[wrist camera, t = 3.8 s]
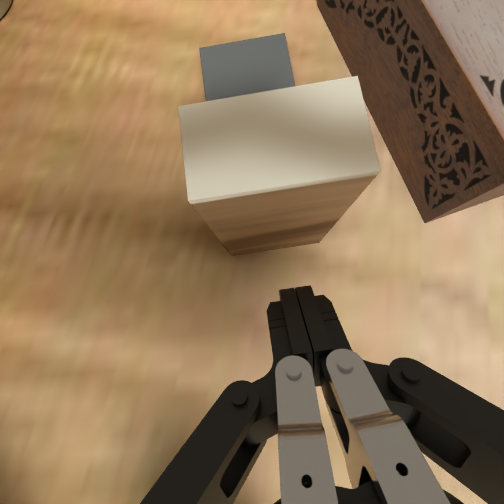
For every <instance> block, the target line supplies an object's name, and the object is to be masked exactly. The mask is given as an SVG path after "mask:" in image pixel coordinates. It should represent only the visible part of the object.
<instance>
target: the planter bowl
mask: <svg viewBox="0 0 504 504" xmlns="http://www.w3.org/2000/svg"><path fill="white" fill-rule="evenodd" d="M11 2H12V0H0V19H1V18H2V17H3V15H4V14H5V13H6V12H7V10H8V8H9V6H10V4H11Z"/></svg>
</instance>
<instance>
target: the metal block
mask: <svg viewBox="0 0 504 504" xmlns="http://www.w3.org/2000/svg"><path fill="white" fill-rule="evenodd" d="M178 109H179V119H180V128H181V138H182V148H183V157H184V167H185V176H186V186H187V195H188V201H189V203H190V204H191V205H192V206H193V208H194V209H195V210H196V211H197V213H198V214H199V215H200V216H201V218H202V219H203V220H204V221H205V223H206V224H207V225H208V226H209V228H210V229H211V230H212V231H213V233H214V234H215V235H216V237H217V238H218V239H219V240H220V242H221V243H222V244H223V245H224V247H225V248H226V249H227V250H228V252H229V253H230V254H231V255H232V256H234V255H241V254H247V253H254V252H260V251H267V250H274V249H280V248H287V247H294V246H300V245H307V244H313V243H319V242H320V241H321V240H322V238H323V237H324V236H325V235H326V234H327V233H328V232H329V230H330V229H331V228H332V227H333V226H334V225H335V223H336V222H337V221H338V220H339V219H340V218H341V216H342V215H343V214H344V213H345V212H346V211H347V209H348V208H349V207H350V206H351V205H352V204H353V202H354V201H355V200H356V199H357V198H358V197H359V195H360V194H361V193H362V192H363V191H364V190H365V188H366V187H367V186H368V185H369V184H370V183H371V182H372V180H373V179H374V178H375V177H376V176H377V175H378V173H379V172H380V171H381V168H380V164H379V160H378V156H377V152H376V148H375V144H374V140H373V136H372V132H371V128H370V124H369V120H368V115H367V111H366V107H365V103H364V99H363V95H362V91H361V87H360V83H359V79H358V76H353V77H347V78H341V79H335V80H330V81H324V82H318V83H312V84H306V85H300V86H294V87H288V88H282V89H276V90H271V91H265V92H259V93H253V94H247V95H241V96H235V97H229V98H223V99H217V100H212V101H206V102H200V103H194V104H188V105H182V106H178Z"/></svg>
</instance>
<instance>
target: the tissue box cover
mask: <svg viewBox="0 0 504 504" xmlns="http://www.w3.org/2000/svg"><path fill="white" fill-rule="evenodd" d="M317 6H318V8H319V10H320V12H321V14H322V16H323V18H324V20H325V22H326V24H327V26H328V28H329V30H330V32H331V34H332V36H333V38H334V40H335V42H336V44H337V46H338V48H339V51H340V53H341V55H342V57H343V59H344V61H345V63H346V65H347V67H348V69H349V71H350V73H351V75H352V77H353V76H358V79H359V83H360V87H361V91H362V95H363V99H364V101H365V103H366V105H367V107H368V109H369V111H370V113H371V115H372V117H373V119H374V121H375V123H376V126H377V128H378V130H379V132H380V134H381V136H382V138H383V140H384V142H385V144H386V146H387V148H388V150H389V152H390V154H391V156H392V158H393V160H394V162H395V164H396V166H397V168H398V170H399V172H400V174H401V176H402V178H403V180H404V182H405V184H406V186H407V188H408V190H409V192H410V194H411V196H412V198H413V200H414V203H415V205H416V207H417V209H418V211H419V213H420V215H421V217H422V219H423V221H424V223H427V222H430V221H432V220H435V219H438V218H441V217H444V216H446V215H449V214H452V213H455V212H458V211H460V210H463V209H466V208H469V207H472V206H475V205H477V204H480V203H483V202H486V201H489V200H491V199H494V198H497V197H500V196H503V195H504V0H318V5H317Z"/></svg>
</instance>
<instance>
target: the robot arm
mask: <svg viewBox="0 0 504 504" xmlns="http://www.w3.org/2000/svg"><path fill="white" fill-rule="evenodd" d="M279 295H280V301H277V302H270V304H269V306H268V309H267V317H268V324H269V331H270V338H271V345H272V352H273V365H272V368H271V370H270V371H269V372H268V373H267V375H265V376H264V377H262V378H261V379H259V380H257V381H255V382H253V383H250V382H248V381H243V380H241V381H236V382H233V383H231V384H230V385H229V386H227V388H226V389H225V390H224V391H223V393H222V394H221V395H220V397H219V398H218V399H217V401H216V402H215V403H214V405H213V406H212V407H211V409H210V410H209V412H208V413H207V414H206V416H205V417H204V418H203V420H202V421H201V422H200V424H199V425H198V426H197V428H196V429H195V430H194V432H193V433H192V434H191V436H190V437H189V438H188V440H187V441H186V443H185V444H184V445H183V447H182V448H181V449H180V451H179V452H178V453H177V455H176V456H175V457H174V459H173V460H172V461H171V463H170V464H169V465H168V467H167V468H166V469H165V471H164V472H163V473H162V475H161V476H160V478H159V479H158V480H157V482H156V483H155V484H154V486H153V487H152V488H151V490H150V491H149V492H148V494H147V495H146V496H145V498H144V499H143V500H142V502H141V503H140V504H233V502H234V500H235V498H236V497H237V495H238V493H239V491H240V489H241V487H242V486H243V484H244V482H245V480H246V478H247V476H248V475H249V473H250V471H251V469H252V467H253V466H254V464H255V462H256V460H257V458H258V456H259V455H260V453H261V451H262V449H263V447H264V446H265V444H266V441H267V439H268V438H270V437H272V436H274V435H275V434H277V433H278V450H279V468H280V487H281V499H279V500H278V501H276V502H275V503H274V504H464V503H462V502H461V501H460V500H458V499H457V498H456V497H454V496H453V495H451V494H450V493H448V492H446V491H445V490H443V489H442V488H441V486H440V484H439V483H438V481H437V479H436V477H435V475H434V474H433V472H432V470H431V468H430V467H429V465H428V463H427V461H426V459H425V458H424V456H423V454H422V453H424V454H425V455H426V456H427V457H429V458H430V459H431V460H433V461H434V462H435V463H436V464H438V465H439V466H440V467H442V468H443V469H444V470H446V471H447V472H448V473H449V474H451V475H452V476H453V477H455V478H456V479H457V480H458V481H460V482H461V483H462V484H464V485H465V486H466V487H467V488H469V489H470V490H471V491H473V492H474V493H475V494H476V495H478V496H479V497H480V498H482V499H483V500H484V501H485V502H487V503H488V504H504V410H502V409H500V408H499V407H497V406H495V405H493V404H492V403H490V402H488V401H486V400H485V399H483V398H481V397H479V396H478V395H476V394H474V393H473V392H471V391H469V390H467V389H466V388H464V387H462V386H460V385H459V384H457V383H455V382H453V381H452V380H450V379H448V378H446V377H445V376H443V375H441V374H439V373H438V372H436V371H434V370H432V369H431V368H429V367H427V366H425V365H424V364H422V363H420V362H418V361H416V360H414V359H411V358H397V359H395V360H393V361H392V362H391V363H390V365H389V366H388V365H382V364H376V363H371V362H368V361H365V360H363V359H362V358H361V357H360V356H359V355H358V354H357V353H355V352H353V351H352V349H351V347H350V345H349V343H348V340H347V338H346V335H345V333H344V331H343V328H342V326H341V324H340V321H339V320H338V317H337V314H336V313H335V310H334V307H333V305H332V302H331V301H330V300H329V299H328V298H326V297H325V296H324V295H318V296H314V293H313V290H312V288H311V286H303V287H296V288H295V289H294V288H289V289H282V290H279ZM316 386H321V387H322V391H323V394H324V398H325V401H326V406H327V409H328V412H329V415H330V417H331V420H332V423H333V426H334V429H335V431H336V434H337V437H338V440H339V443H340V445H341V448H342V451H343V454H344V457H345V461H346V466H347V471H348V475H349V479H350V482H351V485H352V488H353V489H348V488H343V487H338V486H335V483H334V478H333V473H332V467H331V462H330V456H329V451H328V445H327V440H326V435H325V431H324V428H323V426H322V422H321V416H320V411H319V405H318V400H317V394H316V389H315V387H316Z"/></svg>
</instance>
